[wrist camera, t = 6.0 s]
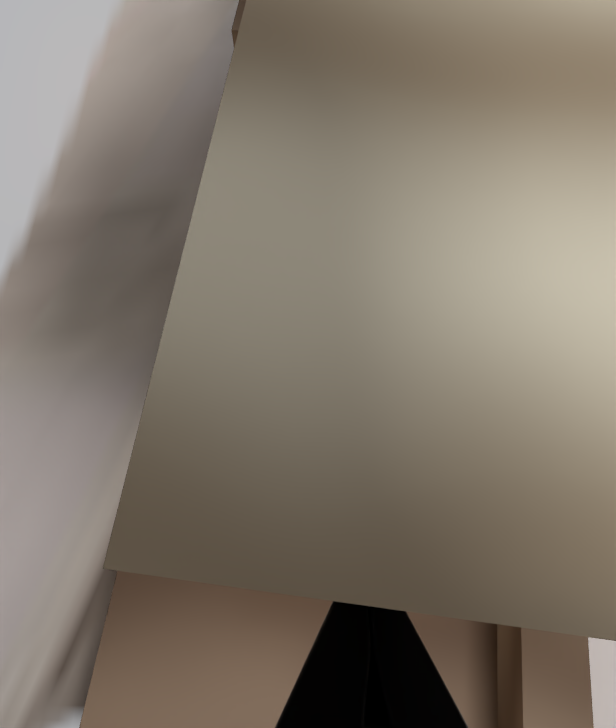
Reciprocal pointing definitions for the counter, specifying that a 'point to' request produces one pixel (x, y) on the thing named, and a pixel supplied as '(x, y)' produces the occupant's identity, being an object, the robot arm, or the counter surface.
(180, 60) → the counter surface
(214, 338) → the tea box
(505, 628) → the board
